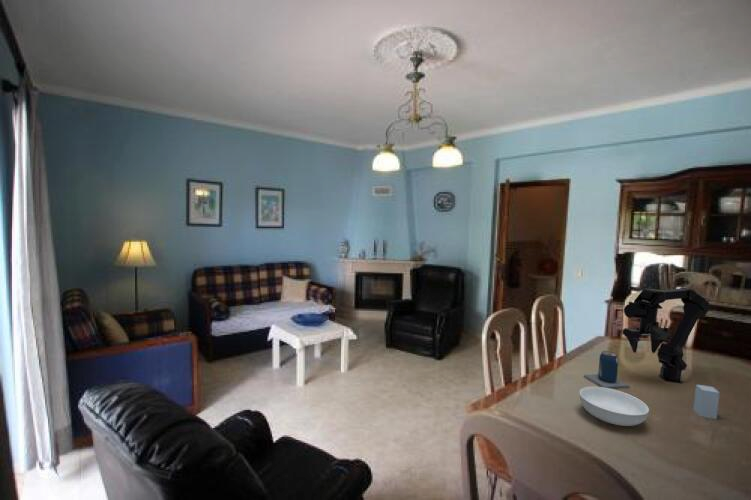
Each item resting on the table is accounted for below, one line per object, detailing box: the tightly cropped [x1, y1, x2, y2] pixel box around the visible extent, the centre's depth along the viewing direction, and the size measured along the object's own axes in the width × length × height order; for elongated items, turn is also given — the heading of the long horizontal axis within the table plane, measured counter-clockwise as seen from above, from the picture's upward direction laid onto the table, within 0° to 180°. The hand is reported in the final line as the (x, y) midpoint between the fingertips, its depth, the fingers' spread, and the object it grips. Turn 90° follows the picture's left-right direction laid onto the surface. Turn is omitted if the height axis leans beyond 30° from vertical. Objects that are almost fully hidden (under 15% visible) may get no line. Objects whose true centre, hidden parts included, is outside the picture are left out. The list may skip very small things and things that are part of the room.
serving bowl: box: [579, 386, 650, 427], centre depth 134 cm, size 21×21×7 cm
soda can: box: [597, 351, 620, 383], centre depth 163 cm, size 7×7×12 cm
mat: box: [583, 373, 630, 390], centre depth 164 cm, size 12×12×1 cm
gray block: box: [692, 384, 720, 420], centre depth 138 cm, size 5×5×10 cm
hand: (643, 352), depth 165 cm, fingers open, 9 cm apart
